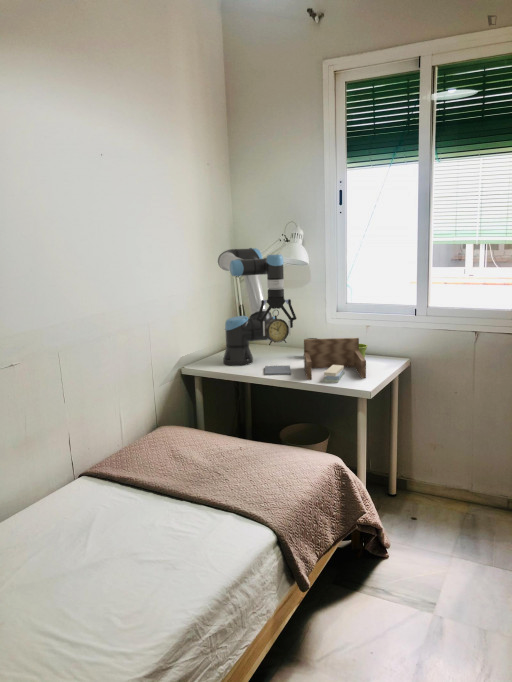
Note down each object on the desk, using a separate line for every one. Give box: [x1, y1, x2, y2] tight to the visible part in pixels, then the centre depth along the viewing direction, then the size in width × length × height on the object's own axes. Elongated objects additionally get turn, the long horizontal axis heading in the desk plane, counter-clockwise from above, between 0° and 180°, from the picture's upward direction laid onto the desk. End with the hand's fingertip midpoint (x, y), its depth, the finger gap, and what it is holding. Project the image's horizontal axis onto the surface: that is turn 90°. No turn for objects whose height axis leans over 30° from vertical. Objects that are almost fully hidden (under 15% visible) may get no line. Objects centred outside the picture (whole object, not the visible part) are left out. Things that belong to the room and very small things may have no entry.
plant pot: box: [359, 343, 368, 359], centre depth 262 cm, size 9×9×9 cm
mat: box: [264, 365, 292, 376], centre depth 252 cm, size 12×14×1 cm
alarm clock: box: [265, 309, 289, 346], centre depth 247 cm, size 11×5×16 cm, turn 114°
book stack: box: [323, 365, 345, 384], centre depth 237 cm, size 16×7×4 cm, turn 160°
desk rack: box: [303, 337, 367, 380], centre depth 244 cm, size 26×22×14 cm
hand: (276, 335), depth 248 cm, fingers closed on alarm clock, 11 cm apart
